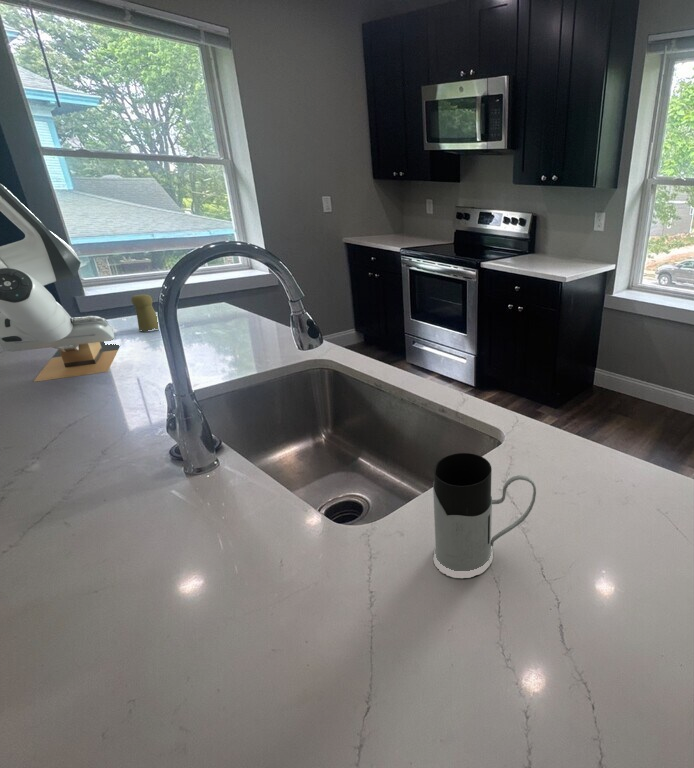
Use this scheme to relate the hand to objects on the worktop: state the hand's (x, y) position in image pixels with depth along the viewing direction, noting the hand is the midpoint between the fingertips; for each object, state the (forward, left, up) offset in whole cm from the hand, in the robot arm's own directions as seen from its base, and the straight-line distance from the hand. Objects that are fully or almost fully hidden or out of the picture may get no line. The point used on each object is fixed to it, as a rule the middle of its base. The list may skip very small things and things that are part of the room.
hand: (71, 348), depth 118 cm
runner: (0, +8, -5) cm, 9 cm away
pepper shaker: (+13, +28, -5) cm, 31 cm away
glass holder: (+63, -106, -5) cm, 123 cm away
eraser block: (0, +6, -5) cm, 8 cm away
